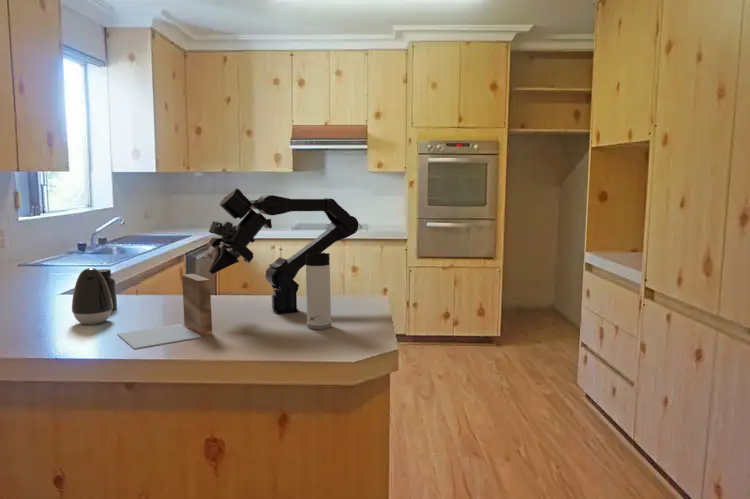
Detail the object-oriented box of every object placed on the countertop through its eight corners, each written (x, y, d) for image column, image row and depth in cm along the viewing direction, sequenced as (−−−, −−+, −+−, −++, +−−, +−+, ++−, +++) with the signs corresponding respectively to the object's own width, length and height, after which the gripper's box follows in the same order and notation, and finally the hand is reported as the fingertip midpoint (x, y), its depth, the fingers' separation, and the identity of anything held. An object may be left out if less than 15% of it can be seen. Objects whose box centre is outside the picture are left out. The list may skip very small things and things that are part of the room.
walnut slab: (195, 324, 159) (193, 273, 157) (212, 333, 149) (209, 279, 148) (184, 326, 157) (182, 274, 155) (200, 335, 148) (198, 280, 146)
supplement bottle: (97, 307, 182) (95, 268, 180) (120, 306, 182) (117, 268, 181) (88, 312, 175) (86, 272, 173) (112, 311, 175) (109, 271, 174)
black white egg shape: (71, 328, 155) (67, 272, 154) (74, 320, 165) (70, 266, 163) (113, 324, 159) (110, 269, 158) (113, 316, 169) (110, 264, 167)
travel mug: (313, 331, 151) (311, 254, 148) (303, 325, 156) (302, 251, 154) (335, 328, 154) (333, 252, 151) (325, 322, 159) (324, 249, 157)
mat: (180, 324, 158) (180, 323, 158) (201, 337, 146) (201, 336, 146) (117, 334, 149) (117, 333, 149) (134, 349, 136) (134, 348, 136)
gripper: (213, 209, 169) (177, 250, 164) (240, 212, 154) (201, 257, 149) (240, 234, 174) (206, 275, 169) (269, 239, 160) (232, 284, 154)
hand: (210, 272), depth 160 cm, fingers closed
